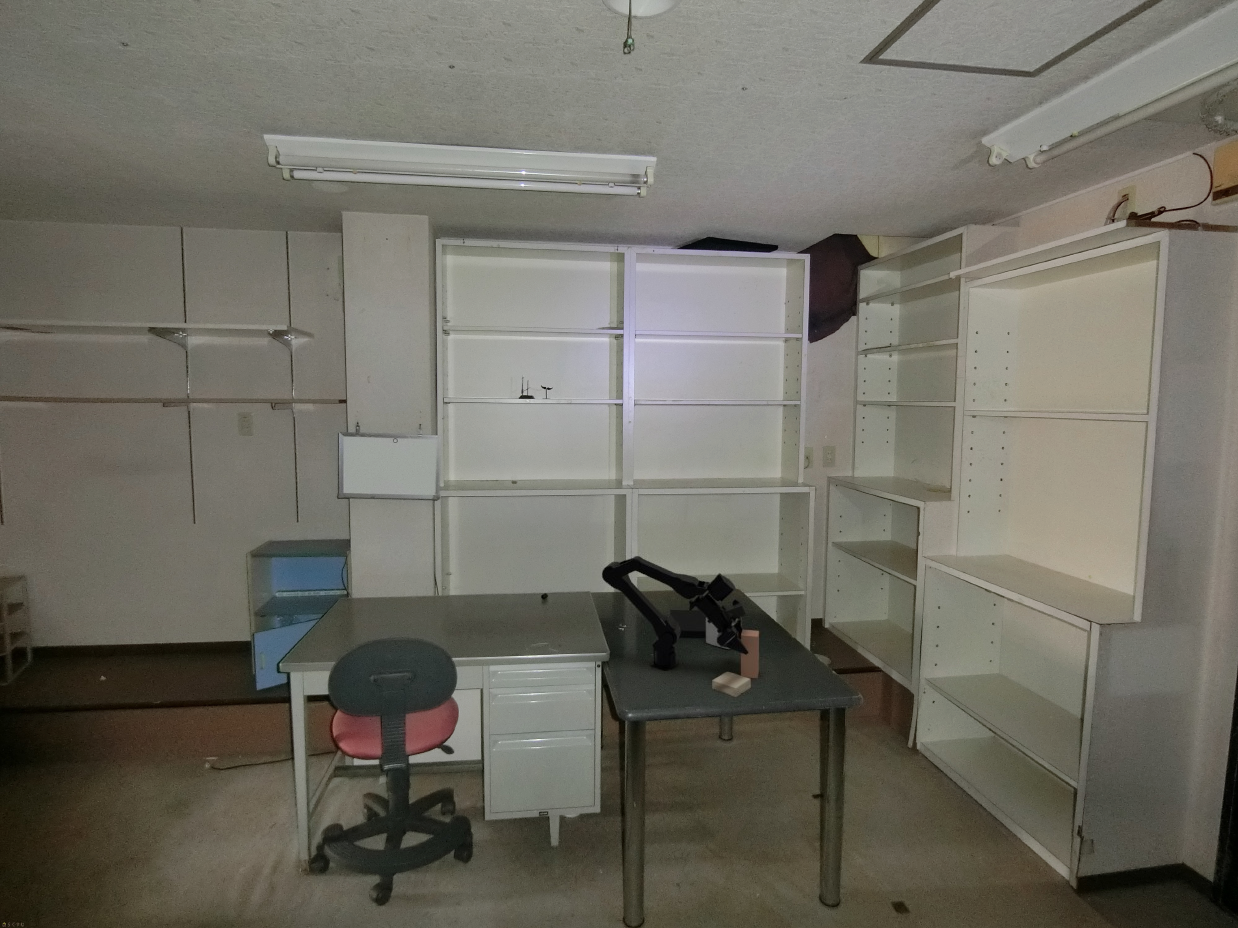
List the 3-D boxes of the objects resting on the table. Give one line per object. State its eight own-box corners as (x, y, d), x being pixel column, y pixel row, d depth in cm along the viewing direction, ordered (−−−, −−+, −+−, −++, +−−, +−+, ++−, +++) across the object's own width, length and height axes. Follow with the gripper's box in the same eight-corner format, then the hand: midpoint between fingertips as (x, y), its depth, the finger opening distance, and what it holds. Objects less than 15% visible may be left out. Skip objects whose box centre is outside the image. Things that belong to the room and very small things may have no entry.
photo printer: (703, 643, 220) (704, 608, 219) (711, 639, 223) (711, 605, 222) (729, 650, 213) (729, 615, 212) (736, 647, 216) (736, 611, 215)
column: (740, 676, 192) (741, 635, 191) (742, 669, 197) (742, 629, 196) (757, 678, 191) (758, 636, 190) (758, 671, 196) (758, 630, 195)
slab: (712, 690, 184) (712, 680, 184) (727, 680, 190) (727, 671, 190) (736, 698, 179) (736, 688, 179) (750, 688, 185) (750, 678, 185)
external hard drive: (669, 638, 226) (669, 630, 225) (670, 617, 249) (670, 609, 248) (709, 639, 224) (709, 631, 224) (706, 617, 247) (706, 610, 247)
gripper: (727, 602, 185) (766, 642, 183) (733, 585, 203) (768, 621, 201) (701, 626, 187) (738, 666, 185) (709, 607, 205) (743, 643, 203)
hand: (748, 647), depth 194 cm, fingers open, 9 cm apart
